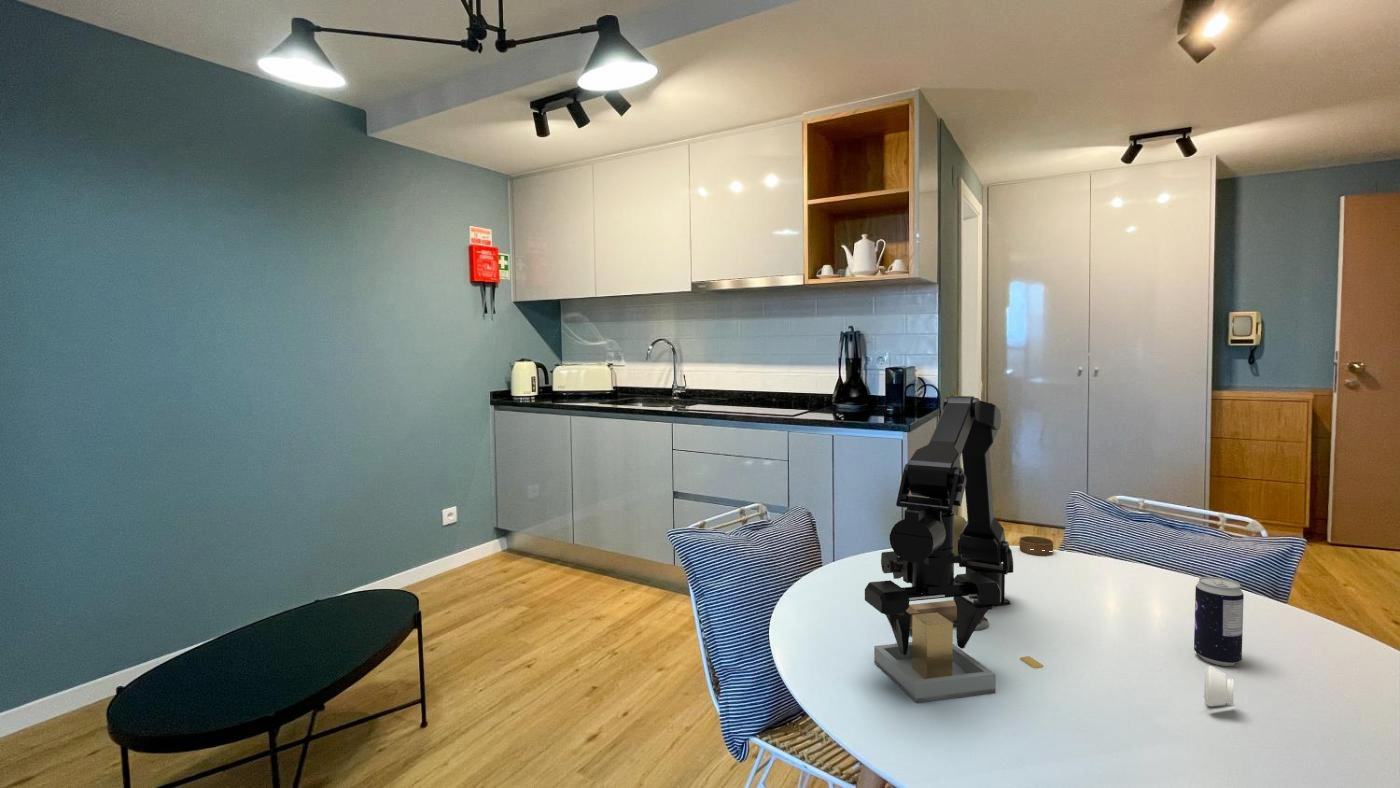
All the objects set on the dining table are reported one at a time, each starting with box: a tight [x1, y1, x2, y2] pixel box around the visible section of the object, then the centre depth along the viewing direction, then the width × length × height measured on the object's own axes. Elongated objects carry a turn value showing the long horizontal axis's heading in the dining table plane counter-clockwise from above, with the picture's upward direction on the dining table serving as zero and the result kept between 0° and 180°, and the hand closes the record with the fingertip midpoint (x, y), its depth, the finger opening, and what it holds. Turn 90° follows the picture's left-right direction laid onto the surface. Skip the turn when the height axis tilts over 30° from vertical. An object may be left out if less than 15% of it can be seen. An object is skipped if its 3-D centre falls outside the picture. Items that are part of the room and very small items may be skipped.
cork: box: [954, 514, 967, 555], centre depth 146 cm, size 6×6×11 cm
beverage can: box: [1193, 576, 1245, 667], centre depth 98 cm, size 6×6×12 cm
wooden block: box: [911, 613, 954, 679], centre depth 94 cm, size 4×4×8 cm
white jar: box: [1203, 665, 1235, 708], centre depth 85 cm, size 5×3×5 cm, turn 141°
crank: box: [906, 598, 985, 630], centre depth 112 cm, size 16×5×3 cm, turn 102°
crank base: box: [951, 616, 1044, 669], centre depth 106 cm, size 6×20×1 cm, turn 12°
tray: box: [873, 641, 997, 704], centre depth 94 cm, size 12×12×3 cm
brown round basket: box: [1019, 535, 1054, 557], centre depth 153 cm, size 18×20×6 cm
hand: (932, 650), depth 94 cm, fingers open, 9 cm apart
